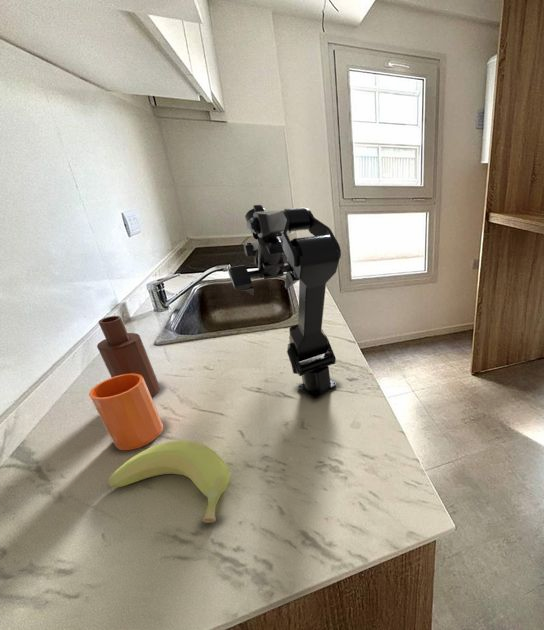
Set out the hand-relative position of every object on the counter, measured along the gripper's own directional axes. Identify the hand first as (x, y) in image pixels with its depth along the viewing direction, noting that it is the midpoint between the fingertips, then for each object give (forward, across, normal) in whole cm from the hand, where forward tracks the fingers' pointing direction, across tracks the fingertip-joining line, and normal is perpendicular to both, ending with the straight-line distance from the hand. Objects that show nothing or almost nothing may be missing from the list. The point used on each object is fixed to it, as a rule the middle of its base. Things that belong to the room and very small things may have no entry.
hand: (269, 291), depth 94 cm
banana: (-12, +28, +44) cm, 54 cm away
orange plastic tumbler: (-1, +34, +28) cm, 44 cm away
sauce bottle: (+7, +33, +16) cm, 37 cm away
